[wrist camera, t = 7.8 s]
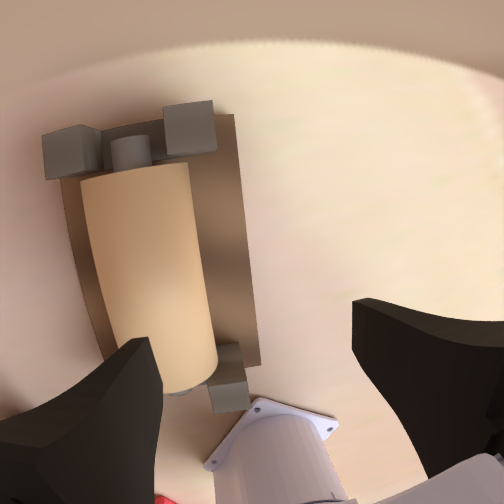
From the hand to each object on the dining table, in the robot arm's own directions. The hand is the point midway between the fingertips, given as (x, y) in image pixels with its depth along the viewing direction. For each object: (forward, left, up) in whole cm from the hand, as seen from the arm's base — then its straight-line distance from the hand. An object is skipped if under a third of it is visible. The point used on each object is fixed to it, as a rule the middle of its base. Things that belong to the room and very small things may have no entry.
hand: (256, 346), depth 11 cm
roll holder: (-1, +4, -9) cm, 10 cm away
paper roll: (-1, +4, -5) cm, 7 cm away
